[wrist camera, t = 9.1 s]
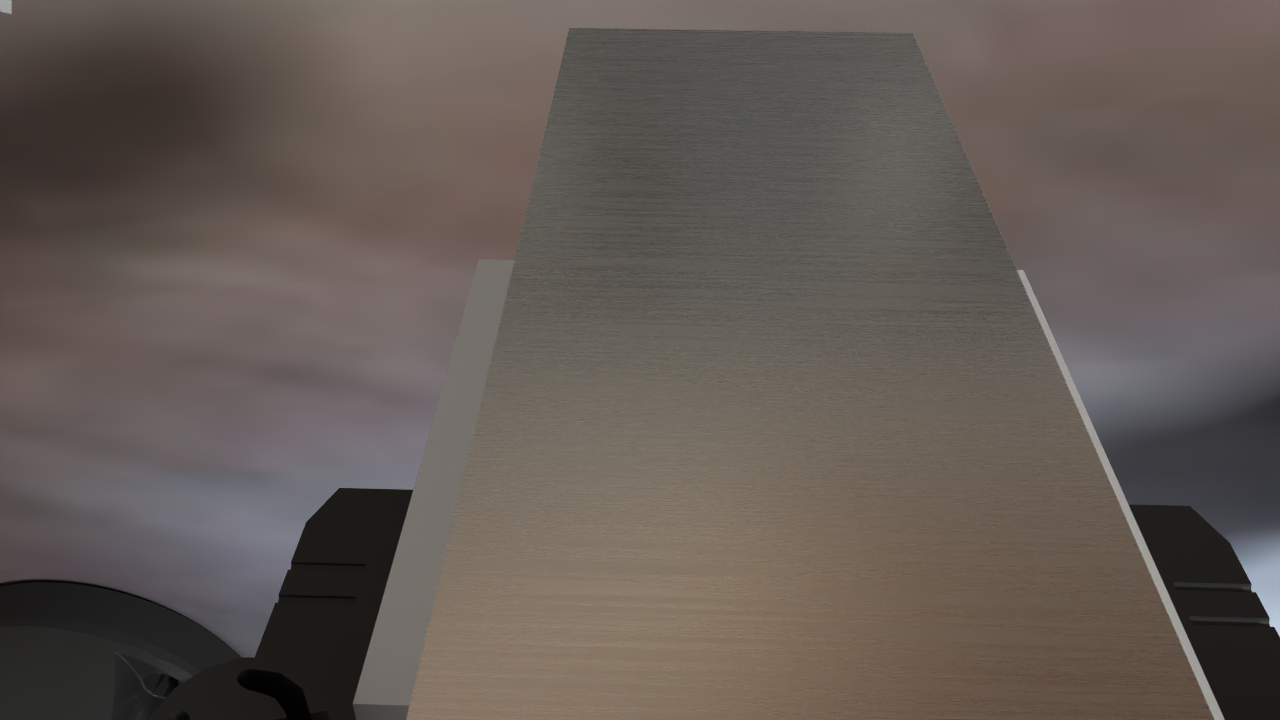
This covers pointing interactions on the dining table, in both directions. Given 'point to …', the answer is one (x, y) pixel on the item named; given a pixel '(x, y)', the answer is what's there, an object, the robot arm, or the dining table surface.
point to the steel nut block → (779, 421)
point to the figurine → (6, 6)
